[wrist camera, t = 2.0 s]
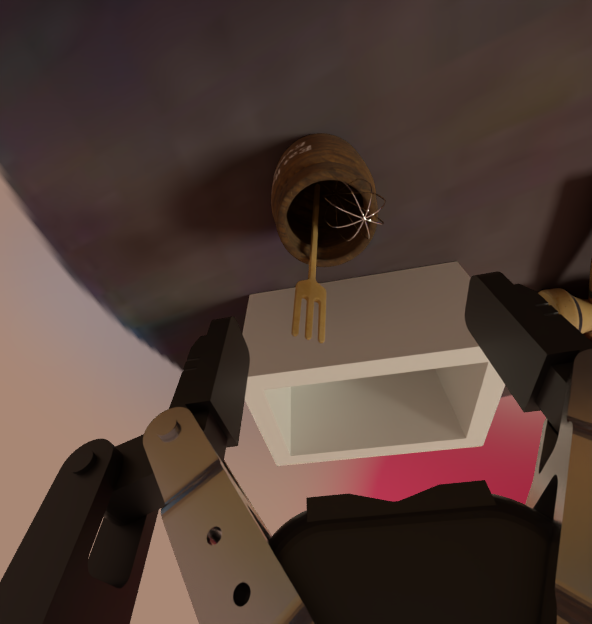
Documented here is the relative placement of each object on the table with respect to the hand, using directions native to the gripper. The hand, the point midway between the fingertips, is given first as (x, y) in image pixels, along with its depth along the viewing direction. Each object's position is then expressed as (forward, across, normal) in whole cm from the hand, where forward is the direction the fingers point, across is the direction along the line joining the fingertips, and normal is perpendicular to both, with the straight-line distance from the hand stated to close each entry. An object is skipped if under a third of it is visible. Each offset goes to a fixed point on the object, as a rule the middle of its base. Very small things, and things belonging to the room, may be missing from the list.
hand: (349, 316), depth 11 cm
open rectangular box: (+14, -1, +13) cm, 19 cm away
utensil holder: (+14, 0, -1) cm, 14 cm away
